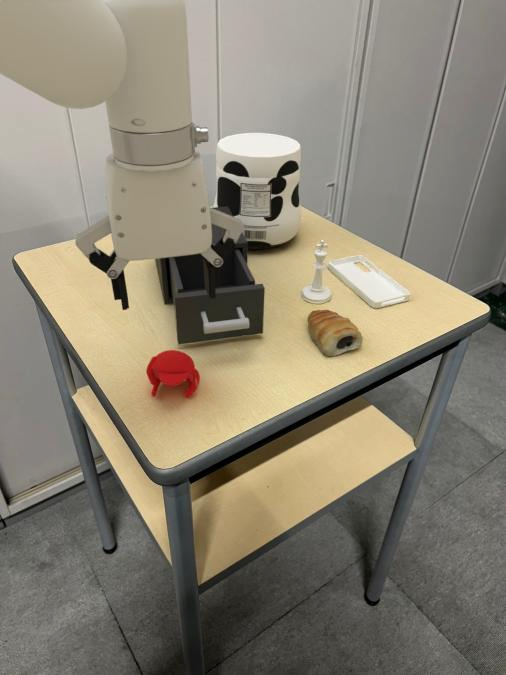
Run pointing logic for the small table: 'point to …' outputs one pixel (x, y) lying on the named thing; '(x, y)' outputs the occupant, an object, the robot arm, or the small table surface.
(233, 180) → the milk container
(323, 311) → the pastry
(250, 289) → the drawer
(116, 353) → the small table surface
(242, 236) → the cabinet
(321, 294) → the chess piece
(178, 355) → the red rounded lump
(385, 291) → the phone case
